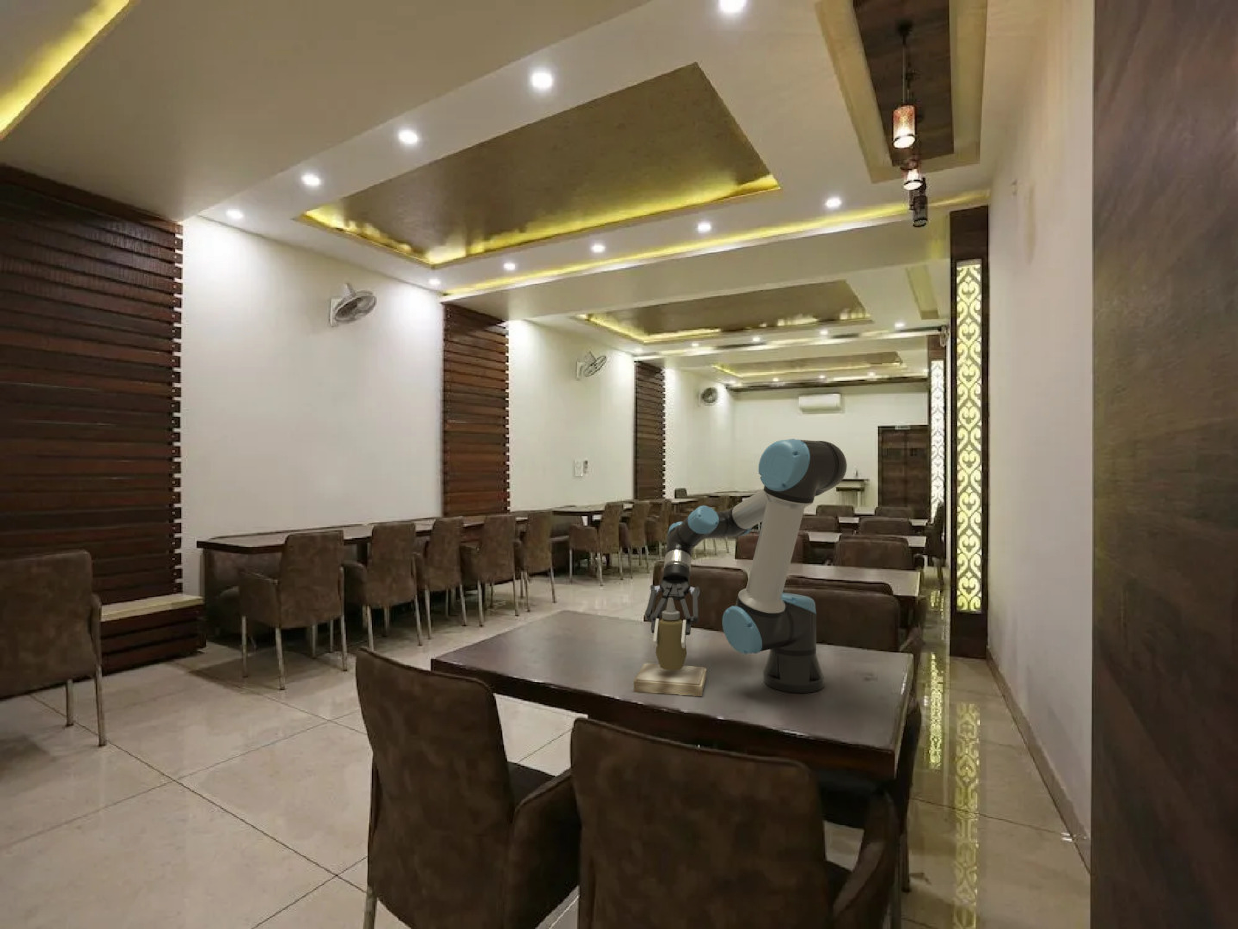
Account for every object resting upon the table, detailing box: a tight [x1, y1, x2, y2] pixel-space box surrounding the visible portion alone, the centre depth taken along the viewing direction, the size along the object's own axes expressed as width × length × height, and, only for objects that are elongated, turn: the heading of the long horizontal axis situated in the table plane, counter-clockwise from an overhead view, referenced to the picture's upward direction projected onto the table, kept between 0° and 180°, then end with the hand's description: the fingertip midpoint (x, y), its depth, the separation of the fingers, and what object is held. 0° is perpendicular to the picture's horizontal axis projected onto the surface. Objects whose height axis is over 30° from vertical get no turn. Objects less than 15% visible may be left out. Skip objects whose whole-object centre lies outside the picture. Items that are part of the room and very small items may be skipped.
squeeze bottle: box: [655, 598, 688, 670], centre depth 153 cm, size 8×8×18 cm
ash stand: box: [633, 662, 707, 697], centre depth 153 cm, size 17×14×3 cm
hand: (669, 644), depth 149 cm, fingers closed on squeeze bottle, 6 cm apart
